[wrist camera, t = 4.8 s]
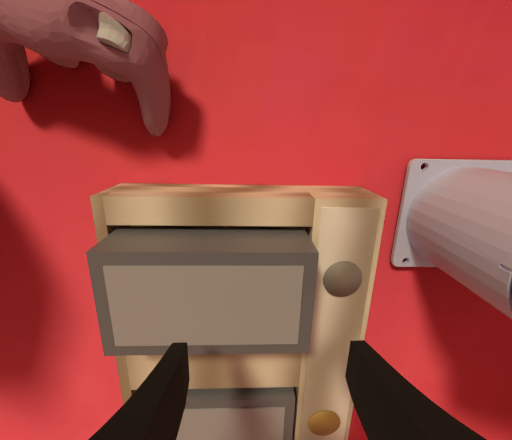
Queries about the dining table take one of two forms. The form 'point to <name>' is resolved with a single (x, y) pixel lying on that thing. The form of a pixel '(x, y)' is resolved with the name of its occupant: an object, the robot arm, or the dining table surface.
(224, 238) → the key grey
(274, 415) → the brown block
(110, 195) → the switch panel
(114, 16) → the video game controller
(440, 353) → the dining table surface
